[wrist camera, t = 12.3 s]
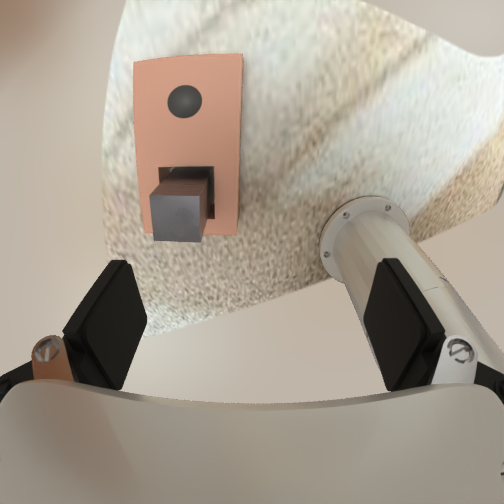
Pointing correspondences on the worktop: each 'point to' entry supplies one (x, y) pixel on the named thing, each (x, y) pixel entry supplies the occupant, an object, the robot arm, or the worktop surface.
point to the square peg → (182, 204)
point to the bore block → (190, 127)
